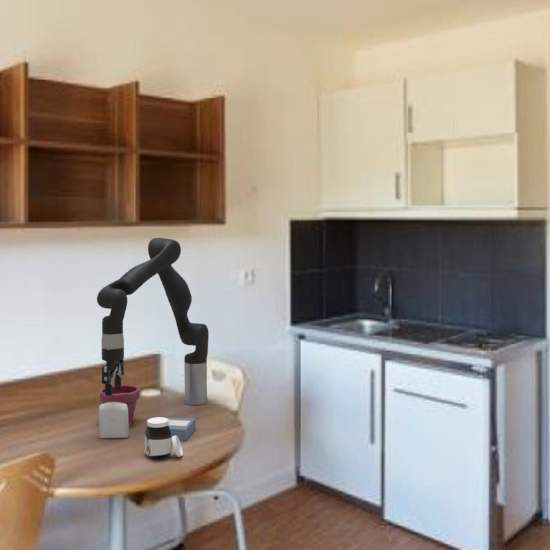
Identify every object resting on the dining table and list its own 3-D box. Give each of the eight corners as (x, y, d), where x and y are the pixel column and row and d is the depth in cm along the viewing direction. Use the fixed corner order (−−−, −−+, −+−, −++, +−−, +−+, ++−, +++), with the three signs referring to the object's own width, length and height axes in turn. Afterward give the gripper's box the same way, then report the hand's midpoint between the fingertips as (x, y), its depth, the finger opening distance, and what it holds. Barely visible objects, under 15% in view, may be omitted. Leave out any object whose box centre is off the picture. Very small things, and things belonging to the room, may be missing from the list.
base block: (158, 427, 242) (158, 416, 242) (195, 429, 240) (195, 418, 240) (146, 439, 229) (146, 427, 229) (185, 441, 227) (185, 429, 227)
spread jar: (141, 452, 216) (141, 417, 215) (174, 447, 221) (174, 413, 221) (154, 464, 206) (153, 428, 205) (188, 458, 211) (187, 422, 210)
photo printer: (97, 439, 229) (97, 404, 228) (101, 435, 234) (100, 400, 233) (127, 439, 229) (126, 404, 228) (130, 435, 234) (129, 400, 233)
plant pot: (92, 425, 245) (91, 391, 244) (117, 415, 257) (117, 382, 256) (122, 430, 238) (122, 395, 237) (147, 420, 251) (146, 387, 250)
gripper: (110, 342, 236) (110, 386, 238) (94, 349, 222) (94, 397, 224) (130, 342, 235) (130, 387, 237) (115, 350, 221) (116, 397, 223)
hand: (113, 392), depth 230 cm, fingers open, 8 cm apart
